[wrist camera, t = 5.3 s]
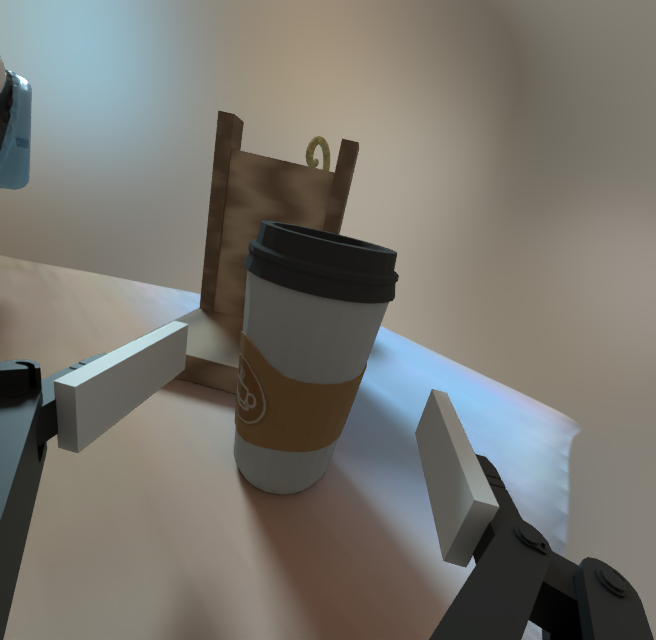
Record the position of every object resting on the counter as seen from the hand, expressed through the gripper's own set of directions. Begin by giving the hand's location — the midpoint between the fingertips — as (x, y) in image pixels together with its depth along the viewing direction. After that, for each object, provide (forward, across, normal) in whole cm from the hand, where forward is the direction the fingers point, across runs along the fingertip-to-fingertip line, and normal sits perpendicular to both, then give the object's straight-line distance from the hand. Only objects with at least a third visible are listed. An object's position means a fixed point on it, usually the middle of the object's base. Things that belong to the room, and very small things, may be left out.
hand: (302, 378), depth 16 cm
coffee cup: (+2, 0, -8) cm, 8 cm away
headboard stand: (+14, -8, -8) cm, 19 cm away
